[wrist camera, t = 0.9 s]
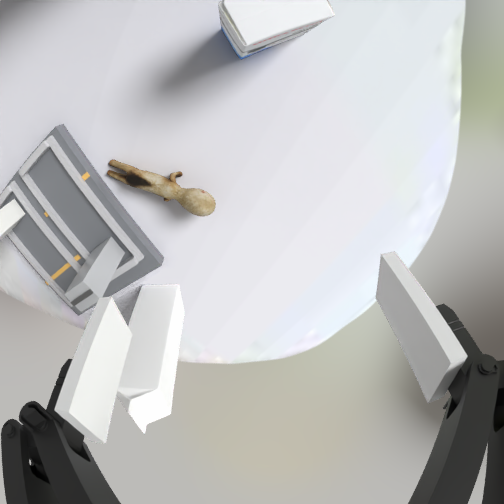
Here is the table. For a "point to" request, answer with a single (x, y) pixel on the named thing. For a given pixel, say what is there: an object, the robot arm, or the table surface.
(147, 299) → the milk
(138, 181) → the figurine
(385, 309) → the robot arm
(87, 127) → the table surface
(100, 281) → the fader
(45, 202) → the grey flat tray
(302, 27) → the ink box
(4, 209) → the block
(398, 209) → the table surface
